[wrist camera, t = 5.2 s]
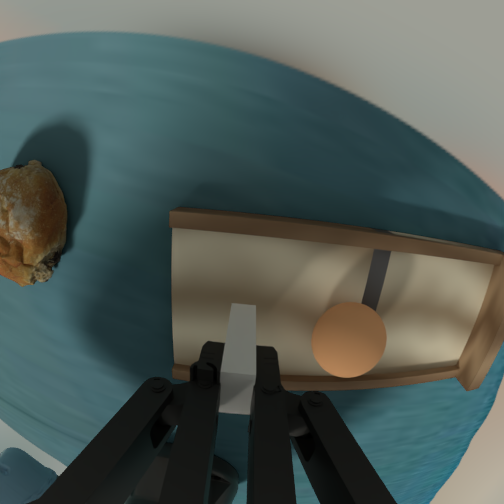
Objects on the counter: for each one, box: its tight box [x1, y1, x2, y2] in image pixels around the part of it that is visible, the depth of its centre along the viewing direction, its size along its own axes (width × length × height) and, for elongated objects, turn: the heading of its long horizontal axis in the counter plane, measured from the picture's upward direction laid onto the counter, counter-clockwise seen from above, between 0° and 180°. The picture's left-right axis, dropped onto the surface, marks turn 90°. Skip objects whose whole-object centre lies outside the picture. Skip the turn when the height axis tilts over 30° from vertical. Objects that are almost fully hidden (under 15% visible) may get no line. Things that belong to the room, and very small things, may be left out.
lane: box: [169, 207, 504, 391], centre depth 18 cm, size 13×29×4 cm, turn 84°
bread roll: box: [0, 160, 67, 287], centre depth 16 cm, size 10×10×8 cm
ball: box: [311, 302, 387, 378], centre depth 17 cm, size 5×5×5 cm
